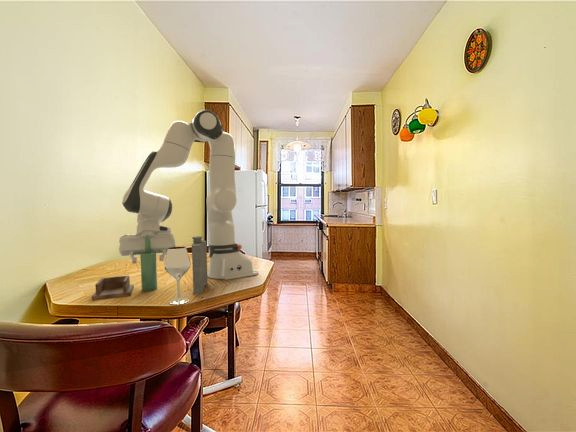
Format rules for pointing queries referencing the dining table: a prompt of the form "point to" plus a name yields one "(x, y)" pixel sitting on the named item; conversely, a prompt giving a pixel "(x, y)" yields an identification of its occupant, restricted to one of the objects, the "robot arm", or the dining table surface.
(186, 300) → the wineglass
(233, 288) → the dining table surface
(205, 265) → the hip flask
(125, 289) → the u rest
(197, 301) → the dining table surface
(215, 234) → the robot arm
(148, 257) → the bottle
